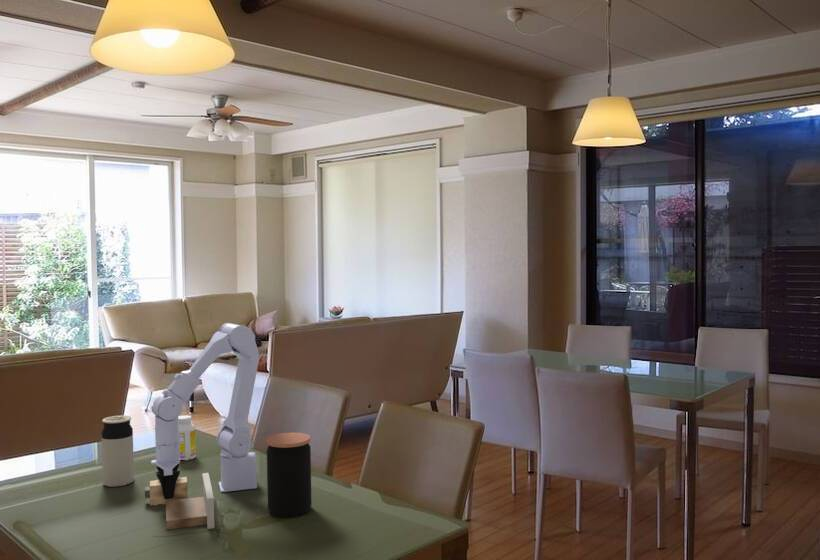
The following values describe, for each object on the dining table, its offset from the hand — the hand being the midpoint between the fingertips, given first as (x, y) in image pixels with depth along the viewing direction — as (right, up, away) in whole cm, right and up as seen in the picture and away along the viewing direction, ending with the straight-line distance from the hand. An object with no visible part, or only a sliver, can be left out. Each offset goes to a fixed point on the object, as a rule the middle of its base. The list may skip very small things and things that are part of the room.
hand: (168, 495), depth 184 cm
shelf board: (+13, -2, -9) cm, 16 cm away
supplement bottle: (-8, 0, +38) cm, 38 cm away
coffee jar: (+32, -2, -8) cm, 33 cm away
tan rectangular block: (0, -1, 0) cm, 1 cm away
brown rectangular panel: (+8, -2, -11) cm, 14 cm away
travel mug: (-19, -1, +15) cm, 24 cm away
